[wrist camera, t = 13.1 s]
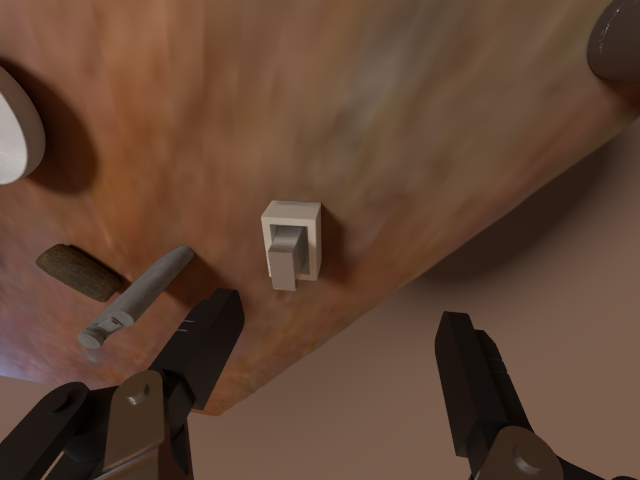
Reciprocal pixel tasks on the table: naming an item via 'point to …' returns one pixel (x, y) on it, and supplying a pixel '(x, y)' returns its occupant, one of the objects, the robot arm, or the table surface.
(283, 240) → the tall brushed metal block
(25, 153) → the serving bowl
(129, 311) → the hip flask
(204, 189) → the table surface
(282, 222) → the hollow off-white angular block
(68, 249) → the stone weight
